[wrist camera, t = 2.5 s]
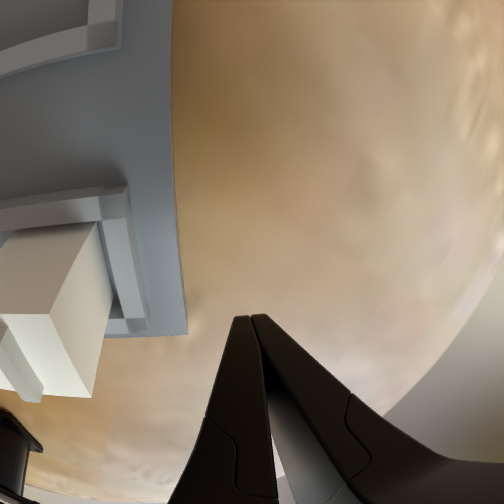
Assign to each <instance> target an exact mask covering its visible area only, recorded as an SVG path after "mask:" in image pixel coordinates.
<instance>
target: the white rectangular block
mask: <svg viewBox="0 0 504 504" xmlns="http://www.w3.org/2000/svg"><path fill="white" fill-rule="evenodd" d="M113 297H114V295H113V291H112V287H111V283H110V280H109V276H108V272H107V267H106V263H105V259H104V254H103V250H102V245H101V241H100V236H99V231H98V226H97V221H94V222H83V223H73V224H63V225H54V226H45V227H36V228H27V229H19V230H16V231H15V232H14V233H13V234H12V235H11V236H10V237H9V239H8V240H7V241H6V242H5V243H4V244H3V246H2V247H1V248H0V389H5V390H12V391H16V392H17V393H18V394H19V396H20V397H21V398H22V400H23V401H26V402H34V403H40V401H41V397H42V394H45V395H56V396H69V397H86V398H92V392H93V386H94V381H95V375H96V370H97V365H98V360H99V356H100V351H101V346H102V342H103V337H104V333H105V329H106V325H107V321H108V317H109V313H110V309H111V305H112V301H113Z"/></svg>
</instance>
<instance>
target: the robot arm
mask: <svg viewBox="0 0 504 504" xmlns="http://www.w3.org/2000/svg"><path fill="white" fill-rule="evenodd" d="M271 434H272V437H273V440H274V443H275V446H276V449H277V452H278V455H279V457H280V460H281V463H282V466H283V469H284V472H285V475H286V478H287V480H288V483H289V486H290V489H291V492H292V494H293V497H294V500H295V502H296V504H504V463H495V462H479V461H467V460H458V459H453V458H449V457H446V456H442V455H441V454H438V453H436V452H434V451H433V450H431V449H429V448H427V447H426V446H425V445H423V444H421V443H420V442H418V441H417V440H415V439H414V438H412V437H410V436H409V435H407V434H406V433H404V432H403V431H401V430H400V429H398V428H397V427H395V426H394V425H392V424H391V423H390V422H388V421H386V420H385V419H384V418H383V417H381V416H380V415H379V414H377V413H376V412H375V411H374V410H372V409H371V408H370V407H369V406H367V405H366V404H365V403H364V402H363V401H361V400H360V399H359V398H358V397H357V396H356V395H355V394H353V393H351V391H350V390H349V389H348V388H347V387H345V386H344V385H343V384H342V383H341V382H340V381H339V380H338V379H336V378H335V377H334V376H333V375H332V374H331V373H330V372H329V371H328V370H326V369H325V368H324V367H323V366H322V365H321V364H320V363H319V362H318V361H316V360H315V359H314V358H313V357H312V356H311V355H310V354H309V353H308V352H307V351H306V350H304V349H303V348H302V347H301V346H300V345H299V344H298V343H297V342H296V341H295V340H294V339H293V338H291V337H290V336H289V335H288V334H287V333H286V332H285V331H284V330H283V329H282V328H281V327H280V326H279V325H277V324H276V323H275V322H274V321H273V320H272V319H271V318H270V317H269V316H268V315H267V314H253V315H251V316H248V315H243V316H235V317H234V318H233V322H232V325H231V328H230V332H229V335H228V338H227V342H226V345H225V349H224V352H223V355H222V359H221V362H220V365H219V369H218V372H217V375H216V379H215V382H214V385H213V389H212V392H211V396H210V399H209V402H208V406H207V409H206V412H205V417H204V418H203V422H202V425H201V428H200V431H199V434H198V437H197V440H196V443H195V446H194V449H193V451H192V453H191V456H190V458H189V460H188V462H187V465H186V467H185V469H184V471H183V473H182V475H181V477H180V479H179V481H178V483H177V485H176V487H175V489H174V491H173V493H172V495H171V497H170V499H169V501H168V503H167V504H279V501H278V490H277V481H276V472H275V464H274V455H273V447H272V438H271ZM30 451H33V452H39V453H43V448H42V447H41V446H40V445H39V444H38V443H37V442H36V441H35V440H34V439H33V438H32V437H31V436H30V434H29V433H28V432H27V431H26V430H25V429H24V428H23V427H22V426H21V425H20V424H19V423H18V422H17V420H16V419H15V418H14V417H13V416H12V415H10V414H9V413H6V412H1V411H0V499H1V500H3V501H5V502H8V503H10V504H40V503H38V502H36V501H31V500H29V499H27V498H24V497H23V491H24V483H25V476H26V469H27V463H28V457H29V452H30ZM0 504H4V503H2V502H0Z"/></svg>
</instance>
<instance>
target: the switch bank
mask: <svg viewBox="0 0 504 504" xmlns="http://www.w3.org/2000/svg"><path fill="white" fill-rule="evenodd" d="M172 16H173V0H0V248H1V247H2V246H3V244H4V243H5V242H6V241H7V240H8V239H9V237H10V236H11V235H12V234H13V233H14V232H15V231H16V230H19V229H27V228H36V227H45V226H54V225H63V224H73V223H83V222H94V221H97V226H98V231H99V236H100V241H101V245H102V250H103V254H104V259H105V263H106V267H107V272H108V276H109V280H110V283H111V287H112V291H113V295H114V297H113V301H112V305H111V309H110V313H109V317H108V321H107V325H106V329H105V333H104V337H103V338H129V337H155V336H174V335H188V319H187V309H186V301H185V293H184V284H183V276H182V266H181V256H180V246H179V235H178V223H177V211H176V197H175V181H174V163H173V140H172V103H171V51H172Z"/></svg>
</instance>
